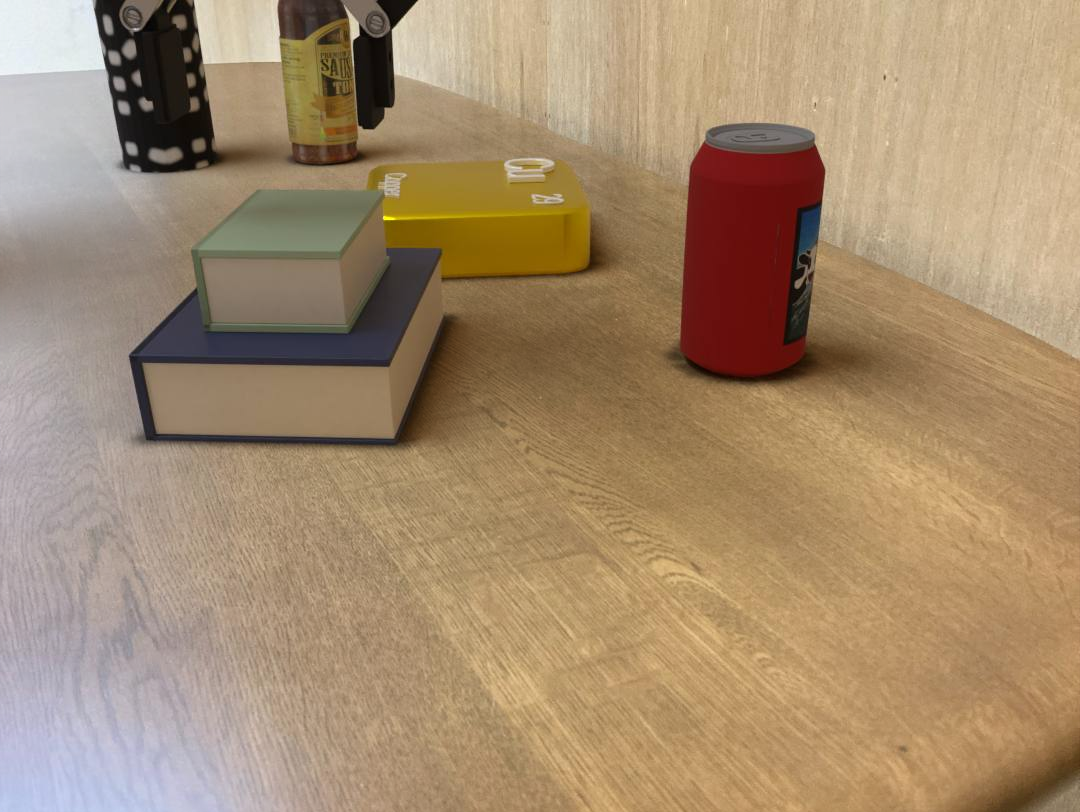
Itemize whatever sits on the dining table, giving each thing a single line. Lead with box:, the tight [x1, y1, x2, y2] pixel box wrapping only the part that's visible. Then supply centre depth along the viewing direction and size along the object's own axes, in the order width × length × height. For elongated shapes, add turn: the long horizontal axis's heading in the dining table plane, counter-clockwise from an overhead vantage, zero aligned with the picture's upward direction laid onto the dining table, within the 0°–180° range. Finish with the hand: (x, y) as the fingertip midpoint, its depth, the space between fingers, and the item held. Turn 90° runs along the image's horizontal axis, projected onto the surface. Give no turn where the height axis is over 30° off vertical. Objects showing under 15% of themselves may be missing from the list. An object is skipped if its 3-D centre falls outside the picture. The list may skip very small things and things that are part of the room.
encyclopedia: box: [128, 248, 447, 446], centre depth 60 cm, size 12×17×4 cm
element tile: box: [365, 157, 592, 279], centre depth 80 cm, size 15×15×5 cm
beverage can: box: [679, 122, 826, 378], centre depth 59 cm, size 7×7×12 cm
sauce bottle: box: [276, 0, 359, 166], centre depth 100 cm, size 6×6×20 cm
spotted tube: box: [91, 0, 219, 174], centre depth 100 cm, size 8×8×20 cm
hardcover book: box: [190, 189, 390, 334], centre depth 58 cm, size 11×7×4 cm, turn 176°
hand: (272, 120), depth 55 cm, fingers open, 9 cm apart
